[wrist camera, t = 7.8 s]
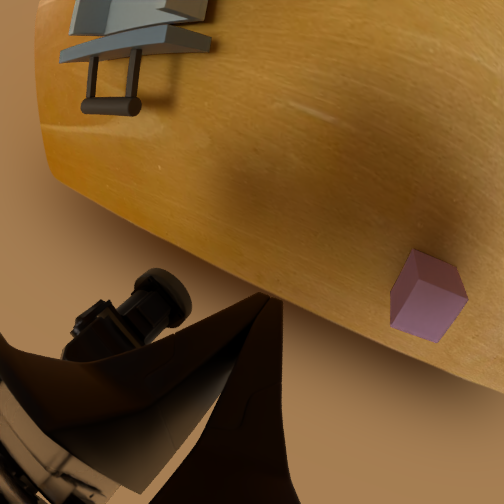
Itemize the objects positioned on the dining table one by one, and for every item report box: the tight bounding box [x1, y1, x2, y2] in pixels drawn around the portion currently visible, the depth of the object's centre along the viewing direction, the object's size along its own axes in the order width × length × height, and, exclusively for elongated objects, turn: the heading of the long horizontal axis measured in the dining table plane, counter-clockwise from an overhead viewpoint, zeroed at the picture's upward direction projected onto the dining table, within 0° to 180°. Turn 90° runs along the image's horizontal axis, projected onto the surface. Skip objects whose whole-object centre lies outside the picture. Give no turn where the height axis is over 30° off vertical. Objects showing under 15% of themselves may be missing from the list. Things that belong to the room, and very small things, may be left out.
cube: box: [390, 249, 468, 343], centre depth 16 cm, size 4×4×4 cm
